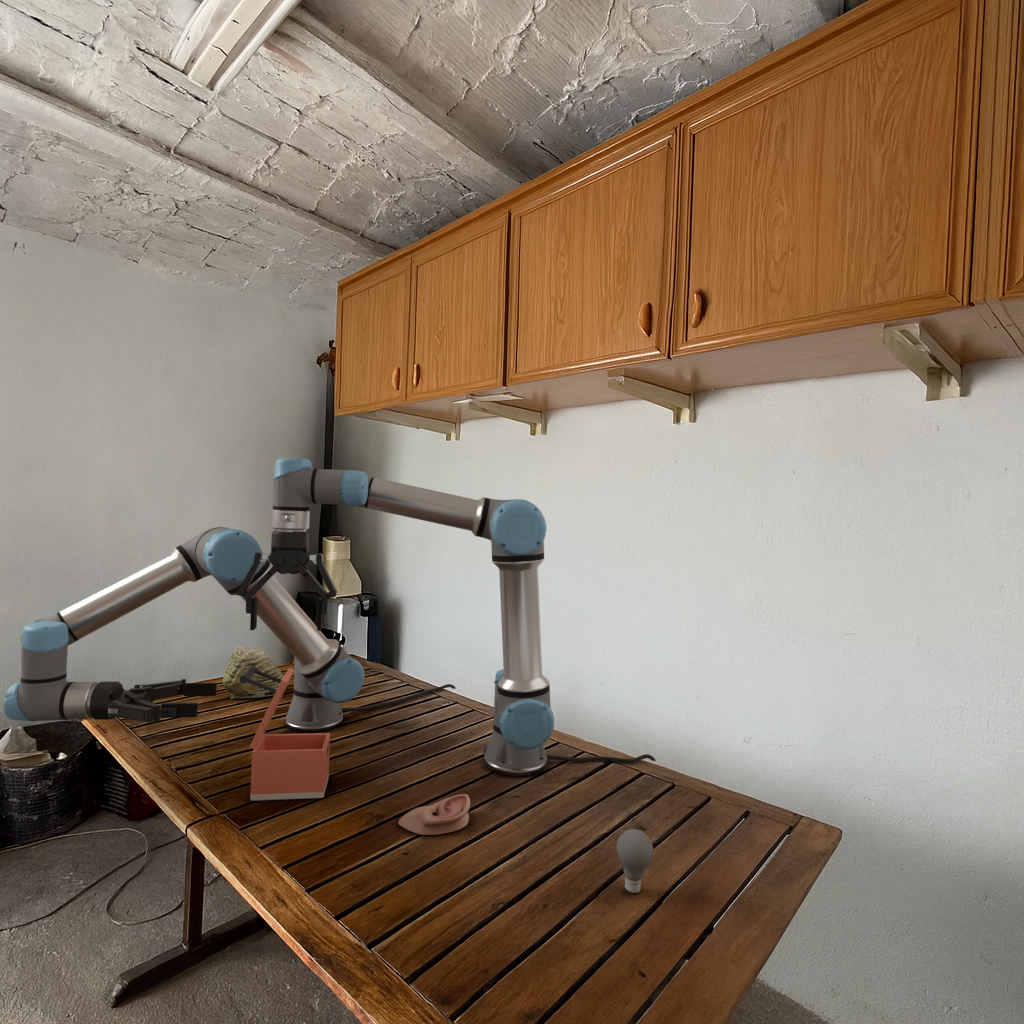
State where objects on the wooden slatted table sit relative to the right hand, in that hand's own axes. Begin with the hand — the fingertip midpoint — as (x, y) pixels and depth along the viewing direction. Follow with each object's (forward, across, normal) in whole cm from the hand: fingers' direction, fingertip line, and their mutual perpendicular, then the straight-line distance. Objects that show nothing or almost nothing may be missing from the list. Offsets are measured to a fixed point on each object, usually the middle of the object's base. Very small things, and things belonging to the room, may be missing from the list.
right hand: (286, 629), depth 136 cm
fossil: (+35, -19, +66) cm, 77 cm away
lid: (+17, -2, 0) cm, 17 cm away
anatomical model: (+35, +32, -17) cm, 50 cm away
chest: (+35, +2, 0) cm, 35 cm away
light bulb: (+35, +63, -43) cm, 84 cm away
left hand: (+15, -16, 0) cm, 22 cm away
